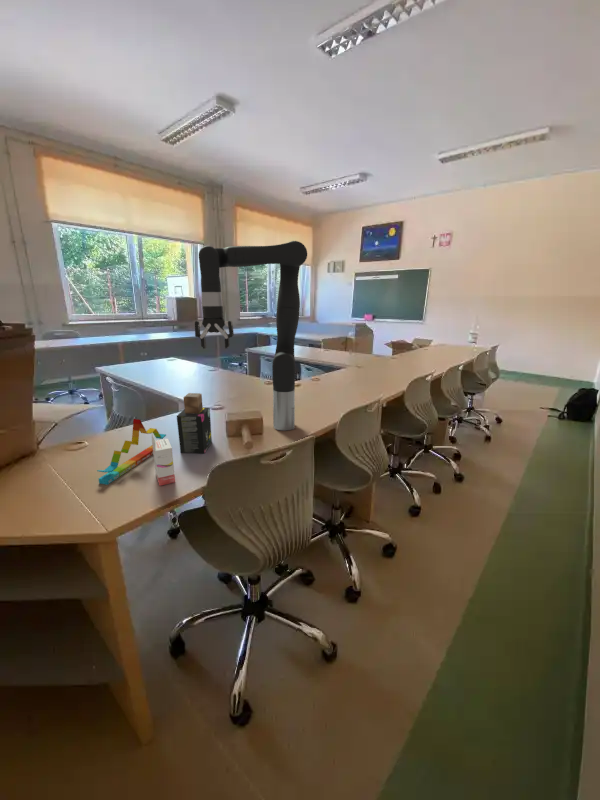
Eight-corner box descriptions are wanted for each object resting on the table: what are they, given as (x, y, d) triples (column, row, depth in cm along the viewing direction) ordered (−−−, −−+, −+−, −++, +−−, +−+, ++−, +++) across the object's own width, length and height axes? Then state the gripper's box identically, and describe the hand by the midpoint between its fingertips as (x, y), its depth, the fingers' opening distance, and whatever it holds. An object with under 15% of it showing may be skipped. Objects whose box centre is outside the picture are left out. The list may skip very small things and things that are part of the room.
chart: (108, 485, 103) (100, 440, 99) (99, 484, 104) (91, 439, 100) (168, 445, 131) (164, 408, 127) (161, 444, 132) (157, 407, 128)
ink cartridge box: (176, 482, 105) (171, 438, 101) (159, 486, 103) (153, 441, 98) (171, 470, 112) (166, 429, 108) (155, 474, 110) (150, 431, 105)
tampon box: (204, 454, 124) (201, 416, 120) (179, 453, 124) (175, 415, 120) (212, 441, 135) (210, 406, 130) (189, 441, 135) (186, 406, 130)
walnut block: (202, 409, 127) (201, 393, 126) (198, 413, 123) (197, 397, 121) (189, 408, 127) (188, 392, 126) (184, 413, 123) (183, 396, 121)
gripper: (233, 304, 131) (235, 346, 135) (196, 304, 130) (199, 346, 135) (229, 305, 123) (232, 349, 128) (190, 305, 123) (194, 349, 128)
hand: (215, 348), depth 132 cm, fingers open, 8 cm apart
